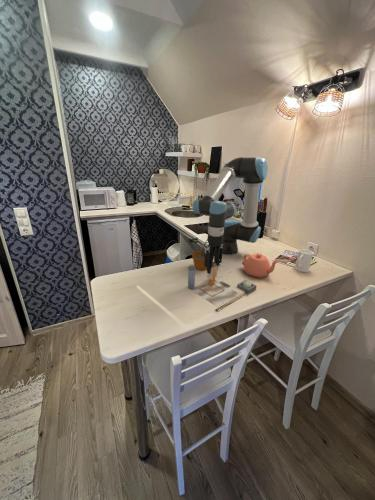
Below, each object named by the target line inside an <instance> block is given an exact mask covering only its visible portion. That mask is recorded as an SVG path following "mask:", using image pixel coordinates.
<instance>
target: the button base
mask: <svg viewBox="0 0 375 500" xmlns="http://www.w3.org/2000/svg"><path fill="white" fill-rule="evenodd" d="M244 281H247V280H246V279H245V280H243V281H241V282H239V283H238V284H237V285H236V287H237V288H239V289H240V290H242V291H244V294H247V295H249V294H251V293H253V292H255V291H257V285H256V284H254V283H252V282H251V284H252V285H251V287H250V288H246V287H244V286H243V282H244Z"/></svg>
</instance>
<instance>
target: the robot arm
mask: <svg viewBox="0 0 375 500" xmlns="http://www.w3.org/2000/svg"><path fill="white" fill-rule="evenodd" d="M219 173H220V174H219V175H218V177H217V178H216V179H215V180H214V182H213V183H212V185H211V186H210V187H209V188H208V190H207V191H206V192H205V194H204V195H203V197H202V198H201V199H200V198H199V199H194V201H193V203H192V211H193V213H195V214H198V215H201V216H208V217H209V218H208V224H209V225H207V226H208V228H207V230H208V235H207V238H206V240H207V242H208V243H207V244H208V245H207V248H204V249H202V250H203V251H204V266H205V267H207V270H206V275H207V276H206V279H207V278H209V279H212V273H213V268H212V264H213V262H216V263H217V265H216V274H215V278H217V277H218V270H219V266H221V264H222V263H223V255H229V256H230V255H236V254H237V253H239V248H238V241H242V242H246V243H251V244H254V243H256V242H257V240H258V239H259V237H260V235H261V230H262V227H261V226H259V221H257V217H258V207H259V199H260V198H259V196H260V188H261V184H263V182H264V181H265V180H266V179H267V176H268V162H267V160H266V159H265V158H264V157H263V158H262V157H242V156H241V157H236V158H233V159H231V160H229V162H227V163H226V164H224V166H223V167H222V168H221V169H220V171H219ZM235 179H242V183H243V184H244V201H243V211H242V213H243V214H242V215H243V216H242V220H241V221H240V220H239V219H231V218H232V217H234V216H235V214H236V213H237V207H236V204H234V203H233V202H226V201H222V200H221V201H220V200H219V199H220V198H221V196H222V195H223V193H224V192H225V190H226V189H227V188H228V186H229V184H230V183H232V182H233V181H234V180H235ZM237 240H238V241H237Z"/></svg>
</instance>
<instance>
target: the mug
mask: <svg viewBox="0 0 375 500" xmlns="http://www.w3.org/2000/svg"><path fill="white" fill-rule="evenodd" d="M313 257H314V252H313V251H312V250H310V249H305V248H303V249H302V248H300V249H298V253H297V257H296V260H295V264H294V269H295V270H296V271H298V272H302V273H308V272H310V266H311V263H312V260H313Z"/></svg>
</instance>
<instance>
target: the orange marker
mask: <svg viewBox="0 0 375 500" xmlns="http://www.w3.org/2000/svg"><path fill="white" fill-rule="evenodd" d="M216 265H217V263H216V262H214V261H213V264H212V268H213V273H212V279H208V284H209V285H214V283H215V280H216V277H215V274H216Z"/></svg>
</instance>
